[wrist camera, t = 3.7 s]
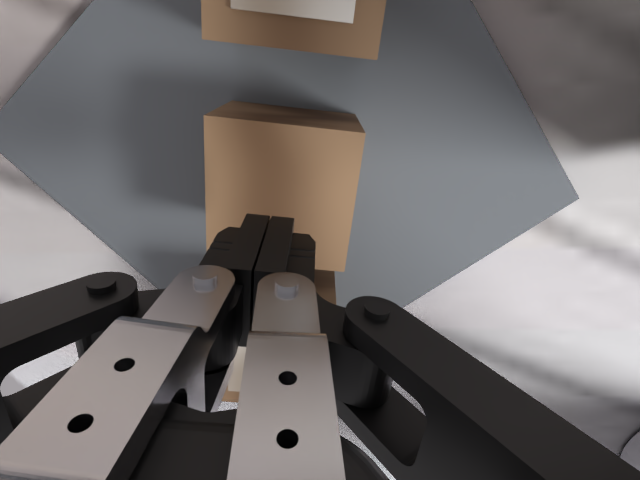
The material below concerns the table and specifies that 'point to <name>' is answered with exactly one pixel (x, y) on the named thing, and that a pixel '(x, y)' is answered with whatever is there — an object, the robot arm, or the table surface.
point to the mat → (300, 92)
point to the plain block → (284, 172)
